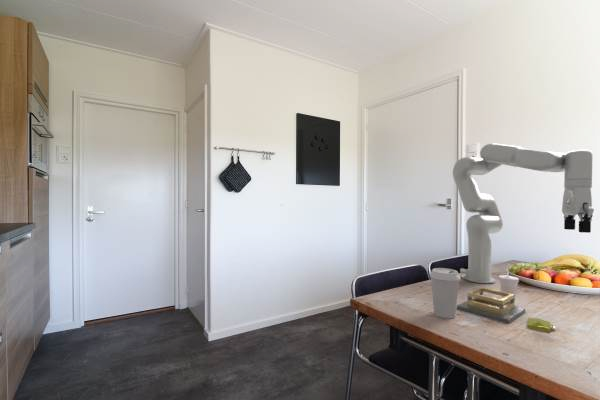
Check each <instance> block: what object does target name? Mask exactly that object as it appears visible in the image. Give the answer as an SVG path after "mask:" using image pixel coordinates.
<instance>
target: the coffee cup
mask: <svg viewBox="0 0 600 400" xmlns="http://www.w3.org/2000/svg"><path fill="white" fill-rule="evenodd" d="M429 277H430V282H431V293H432V305H433V306H432V307H433V314H434V315H435V316H436V317H438V318H443V319H449V320H450V319H454V318H456V313H457V305H458V304H457V303H458V301H457V300H458V293H459V291H458V290H459V283H460V280H461V279H462V278H461V275H460V274H459V271H458V270H455V269H453V268H452V269H451V268H445V267H435V268H432V269H431V271H430V273H429Z"/></svg>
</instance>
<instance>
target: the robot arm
mask: <svg viewBox="0 0 600 400" xmlns="http://www.w3.org/2000/svg"><path fill="white" fill-rule="evenodd" d="M479 155H480V157H474V156H473V157H471V156H470V157H469V156H468V157H466V156H465V157H462V158H459V159H458V160H457V161H456V163H455V164H454V165H453V168H452V177H453V180H454V183H455V184H456V187H457V189H458V193H459V197H460V200H461V202H462V205H463V206H462V207H463V208H464V210H465V211H466V212H468V213H472V214H473V215H472V216H470V217H468V219H467V221H466V231H467V240H468V242H467V243H468V244H467V247H468V251H467V252H468V253H467V254H468V258H467V259H468V263H467V264H468V265H467V267H468V268H467V269H465V268H463V267H462V268H460V269H459V272H460V273H461V274H465V275H464V279H465V280H466V281H469V282H472V283H475V284H476V283H478V284H494V283H496V279H495V278H494V277H492V239H491V237H490V235H492V234H497V233H499V232H501V230H502V228H503V225H504V224H503V223H504V222H503V219H502V216H501V213H500V210H499V208H498V205H497V202H496V200H495V199H494V198H493V196H492V195H490V194H487V193H482V192H480V191H479V186H478V184H477V182H476V181H475V179H474V178H473V177H472V176H482V175H486V174H488V173H490V172H491V171H494V170H495V169H497V168H499V167H500V166H503V165H504V166H510V167H515V168H517V167H518V168H523V169H527V170H532V171H538V172H545V173H550V172H551V173H563V172H564V179H563V180H564V181H563V182H564V184H563V188H564V191H563V195H562V196H563V197H562V203H561V205H562V207H561V212H562V214H563V219H564V221H563V225H564V227H563V228H564V230H569V231H570V230H572V231H573V230H576V219H575V217H576V216H577V215H578V219H579V221H578V232H579V233H589V234H590V233H591V230H592V229H591V228H592V224H591V223H592V221H593V220H592V217H593V213H594V208H593V204H592V203H593V199H592V190H591V189H592V188H593V152H592V151H591V150H589V149H588V150H587V149H578V150H577V149H576V150H571V151H567V152H566V153H564V152H554V151H543V150H536V149H527V148H523V147H522V146H516V145H510V144H509V145H507V144H500V143H488V144H485V145H484V146H483V147H481V148H480V151H479ZM474 213H478V214H474Z"/></svg>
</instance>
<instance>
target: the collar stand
mask: <svg viewBox="0 0 600 400" xmlns="http://www.w3.org/2000/svg"><path fill="white" fill-rule="evenodd" d="M484 292H485V293H487V294H492V295H496V296H497V295H498V296H501V298H498V297H493V296H489V295H484ZM502 296H505V297H504V298H502ZM466 299H467V300H466V301H464V302H462V303H459V304H456V310H459V311H463V312H467V313H470V314H474V315H477V316H481V317H485V318H488V319H491V320H495V321H499V322H502V323H506V324H510V323H511V322H513V321H514V320H515V319H517V318H519V317H520V316H522V315H523V314H525V313H526V308H524V307H522V306H517V305H515V303H516V302H515V301H516V297H515V294H511V293H506V292H502V291H501V290H496V289H492V288H488V287H483V286H480V287H477V288H475V289H473V290H470V291H468V292H467V298H466Z"/></svg>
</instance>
